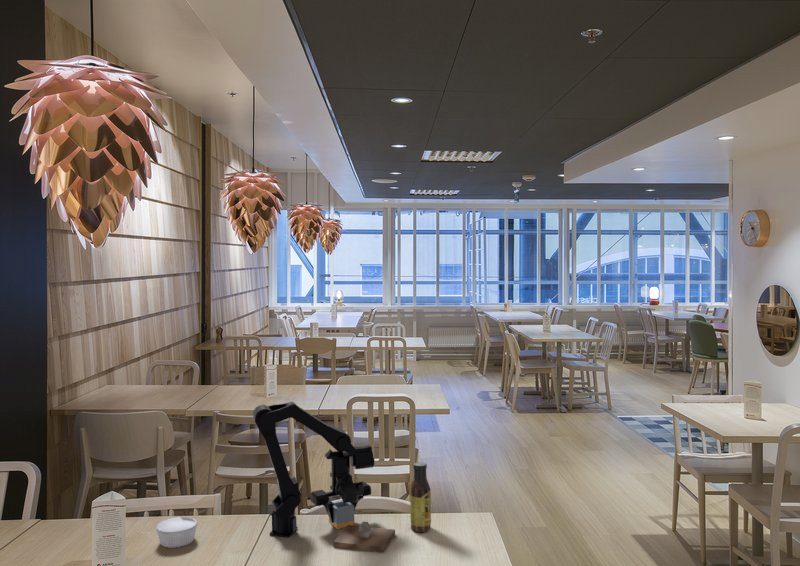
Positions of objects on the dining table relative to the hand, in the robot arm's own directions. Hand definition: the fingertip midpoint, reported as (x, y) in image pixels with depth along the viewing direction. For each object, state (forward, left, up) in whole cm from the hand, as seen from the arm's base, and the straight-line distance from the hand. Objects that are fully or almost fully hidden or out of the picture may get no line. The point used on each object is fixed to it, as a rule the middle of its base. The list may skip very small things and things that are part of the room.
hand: (341, 520), depth 198 cm
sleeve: (0, 0, -1) cm, 1 cm away
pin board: (+11, -10, -1) cm, 15 cm away
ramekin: (-43, -23, -1) cm, 49 cm away
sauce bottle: (+25, +2, -1) cm, 25 cm away
